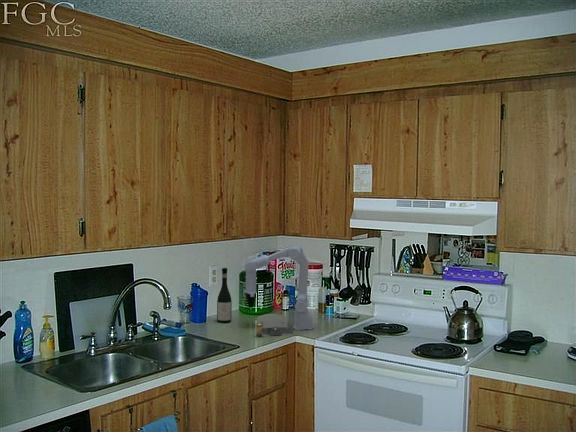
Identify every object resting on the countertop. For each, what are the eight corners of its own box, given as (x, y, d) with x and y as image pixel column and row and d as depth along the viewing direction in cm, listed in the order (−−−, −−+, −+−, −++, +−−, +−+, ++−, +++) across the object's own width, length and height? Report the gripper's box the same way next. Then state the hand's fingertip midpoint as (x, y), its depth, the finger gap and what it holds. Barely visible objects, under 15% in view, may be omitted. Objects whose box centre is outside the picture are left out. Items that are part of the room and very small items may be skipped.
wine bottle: (231, 323, 307) (231, 269, 305) (216, 323, 306) (217, 269, 305) (231, 319, 315) (231, 267, 313) (217, 319, 314) (217, 267, 313)
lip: (292, 332, 289) (292, 326, 289) (294, 335, 283) (294, 328, 283) (256, 333, 286) (256, 327, 285) (257, 336, 280) (257, 329, 280)
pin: (262, 334, 284) (262, 322, 283) (263, 336, 280) (263, 324, 279) (254, 335, 283) (254, 323, 283) (255, 337, 279) (255, 325, 279)
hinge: (257, 333, 287) (256, 313, 290) (255, 333, 291) (255, 314, 294) (288, 332, 290) (287, 312, 293) (287, 332, 294) (286, 313, 297)
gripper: (242, 280, 307) (242, 304, 308) (244, 285, 293) (244, 310, 294) (254, 280, 309) (254, 304, 309) (258, 284, 294) (257, 310, 295)
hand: (250, 307), depth 302 cm, fingers closed
